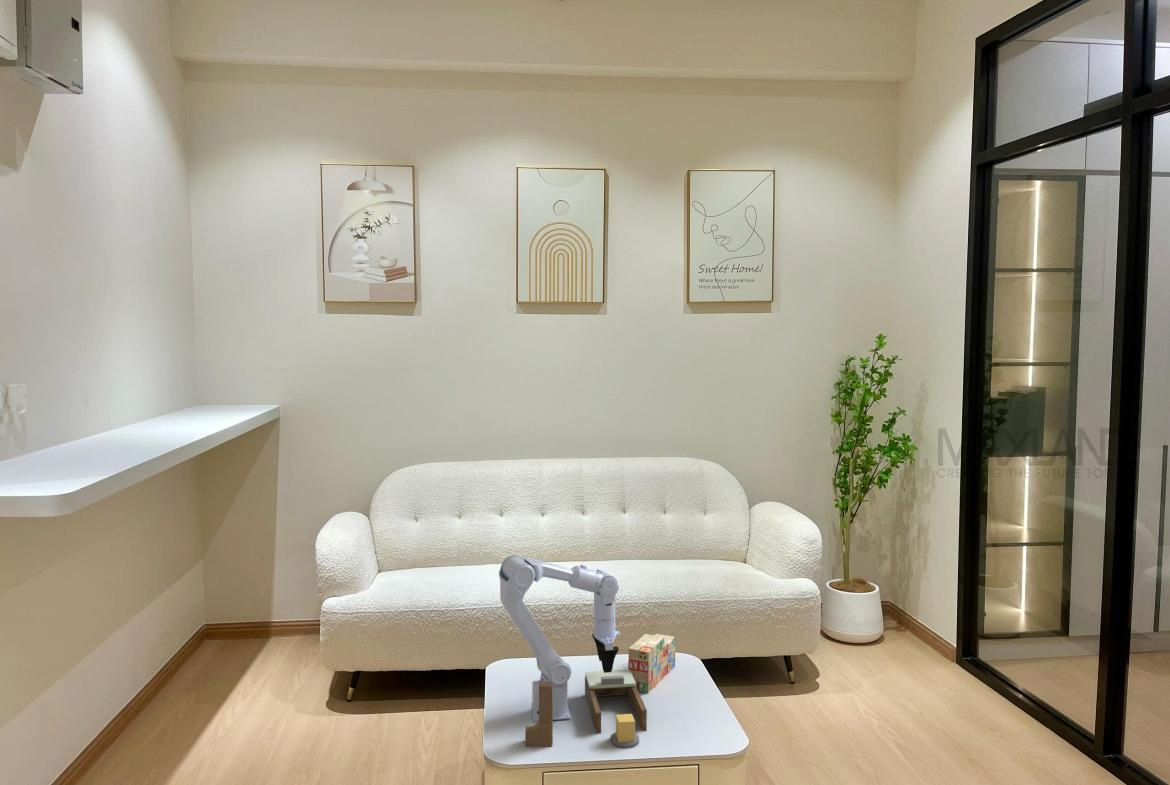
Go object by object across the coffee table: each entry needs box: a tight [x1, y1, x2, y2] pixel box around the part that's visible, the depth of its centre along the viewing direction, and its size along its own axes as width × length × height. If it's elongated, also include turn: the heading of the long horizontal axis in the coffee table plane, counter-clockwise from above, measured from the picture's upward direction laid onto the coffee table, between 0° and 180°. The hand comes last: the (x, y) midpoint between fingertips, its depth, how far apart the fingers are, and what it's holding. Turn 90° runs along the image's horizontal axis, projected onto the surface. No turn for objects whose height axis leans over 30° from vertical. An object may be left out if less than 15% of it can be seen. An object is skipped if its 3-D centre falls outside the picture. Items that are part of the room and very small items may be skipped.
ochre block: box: [615, 713, 636, 742], centre depth 197 cm, size 4×4×5 cm
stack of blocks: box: [627, 633, 676, 694], centre depth 234 cm, size 21×6×12 cm, turn 153°
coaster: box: [610, 731, 640, 749], centre depth 197 cm, size 7×7×1 cm
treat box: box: [584, 676, 648, 734], centre depth 212 cm, size 13×22×5 cm, turn 8°
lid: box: [584, 669, 636, 689], centre depth 219 cm, size 13×9×2 cm
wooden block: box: [524, 681, 554, 747], centre depth 195 cm, size 7×3×15 cm, turn 91°
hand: (605, 666), depth 217 cm, fingers open, 7 cm apart
